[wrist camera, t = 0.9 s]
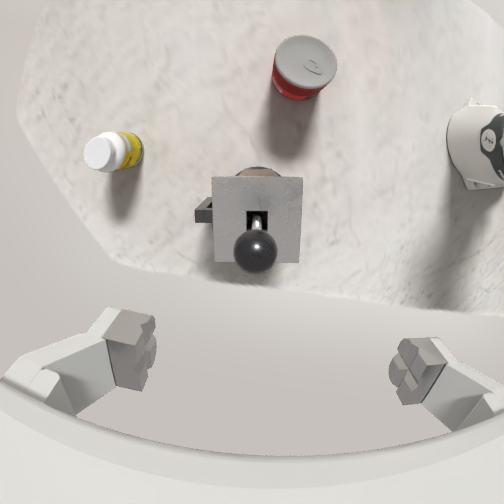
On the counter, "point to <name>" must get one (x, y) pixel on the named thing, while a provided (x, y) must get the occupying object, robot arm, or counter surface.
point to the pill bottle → (113, 151)
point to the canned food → (303, 67)
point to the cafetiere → (254, 199)
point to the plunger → (255, 245)
